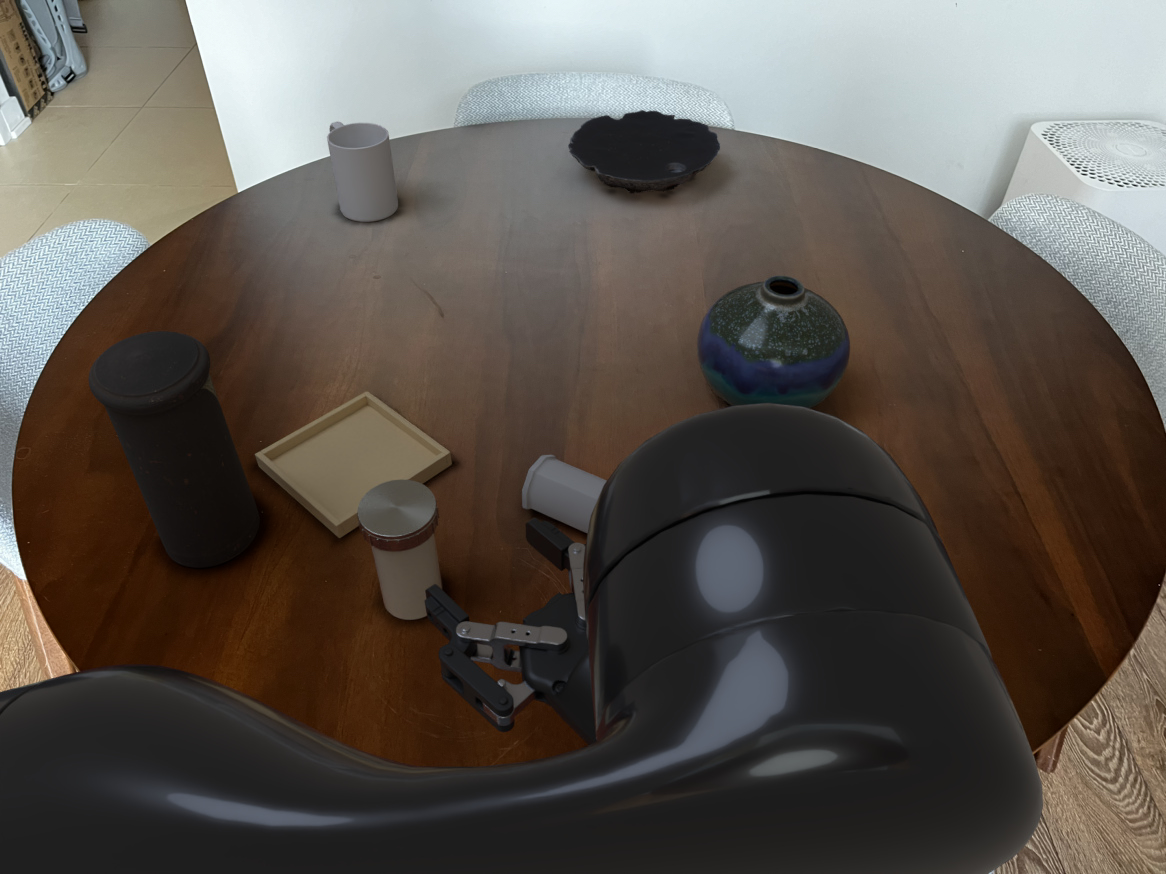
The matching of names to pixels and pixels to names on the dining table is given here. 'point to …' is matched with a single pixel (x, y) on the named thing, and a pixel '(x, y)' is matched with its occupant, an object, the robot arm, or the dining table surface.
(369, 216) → the mug
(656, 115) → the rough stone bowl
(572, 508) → the tube
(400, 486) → the lid
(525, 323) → the dining table surface
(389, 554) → the jar
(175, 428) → the container
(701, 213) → the dining table surface
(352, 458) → the tray
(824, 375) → the vase
